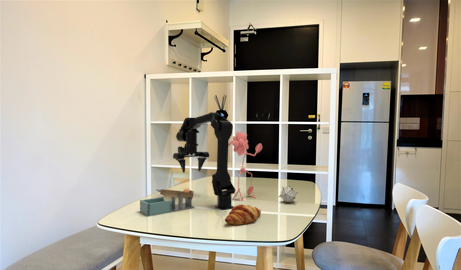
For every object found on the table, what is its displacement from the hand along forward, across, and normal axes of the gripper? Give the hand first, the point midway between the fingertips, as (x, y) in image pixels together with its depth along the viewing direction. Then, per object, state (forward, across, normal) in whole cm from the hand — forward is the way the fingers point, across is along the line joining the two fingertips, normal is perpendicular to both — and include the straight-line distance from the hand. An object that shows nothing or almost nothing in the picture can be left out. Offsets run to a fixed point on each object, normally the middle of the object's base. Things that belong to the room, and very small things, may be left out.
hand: (191, 171), depth 156 cm
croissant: (+15, +2, +45) cm, 48 cm away
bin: (+14, +26, +14) cm, 32 cm away
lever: (+8, +16, +9) cm, 20 cm away
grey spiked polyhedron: (+14, -34, +36) cm, 51 cm away
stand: (+14, +14, +14) cm, 24 cm away
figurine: (+14, -21, +13) cm, 29 cm away
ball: (+7, +11, +14) cm, 19 cm away
